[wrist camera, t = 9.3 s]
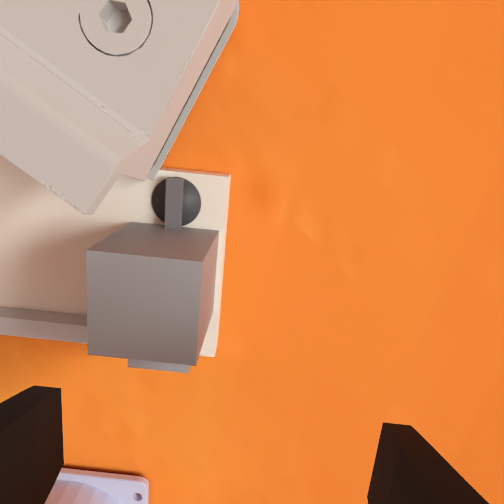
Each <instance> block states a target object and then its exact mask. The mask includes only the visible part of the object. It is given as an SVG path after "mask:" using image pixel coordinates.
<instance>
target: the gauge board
mask: <svg viewBox="0 0 504 504" xmlns="http://www.w3.org/2000/svg"><path fill="white" fill-rule="evenodd" d="M230 180H231V174H224V173H214V172H204V171H194V170H184V169H174V168H164V167H161V168H160V169H159V171H158V173H157V175H156V177H155V179H154V181H152V180H150V179H149V178H148V177H147V178H146V180H145V181H142V180H139V179H135V178H132V177H129V176H125V175H122V174H121V175H120V177H119V178H118V179H117V181H116V182H115V184H114V185H113V187H112V188H111V189H110V191H109V192H108V194H107V195H106V196H105V198H104V199H103V201H102V202H101V204H100V205H99V206H98V208H97V209H96V211H95V212H94V214H93V215H84V214H82V213H81V212H79V211H78V210H77V209H75V208H74V207H72V206H71V205H70V204H68V203H67V202H65V201H64V200H63V199H61V198H60V197H58V196H57V195H56V194H54V193H53V192H51V191H50V190H49V189H47V188H46V187H44V186H43V185H42V184H40V183H39V182H38V181H36V180H35V179H33V178H32V177H31V176H29V175H28V174H26V173H25V172H24V171H22V170H21V169H19V168H18V167H17V166H15V165H14V164H12V163H11V162H10V161H8V160H7V159H5V158H4V157H3V156H1V155H0V335H9V336H19V337H28V338H38V339H48V340H57V341H67V342H76V343H86V344H87V345H88V355H97V356H106V357H116V358H126V359H128V367H133V368H143V369H152V370H162V371H171V372H181V373H188V372H189V369H190V366H191V365H192V366H196V364H197V361H198V357H199V355H200V356H210V357H214V356H215V352H216V348H217V344H218V332H219V319H220V307H221V294H222V281H223V269H224V256H225V243H226V231H227V218H228V205H229V193H230Z"/></svg>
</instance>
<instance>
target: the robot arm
mask: <svg viewBox="0 0 504 504" xmlns="http://www.w3.org/2000/svg"><path fill="white" fill-rule="evenodd" d="M63 464H64V458H63V432H62V405H61V388H53V387H43V386H32V387H30V388H28V389H26V390H24V391H22V392H20V393H18V394H16V395H15V396H13V397H11V398H9V399H7V400H6V401H4V402H2V403H0V504H148V499H149V483H148V481H147V480H146V479H145V478H144V477H141V476H132V475H123V474H114V473H105V472H95V471H86V470H77V469H68V468H62V466H63ZM136 493H139V494H141V495H138V494H136ZM367 498H368V504H489V503H488V502H487V501H486V500H485V499H484V498H483V497H482V496H481V495H480V494H479V493H478V492H477V491H476V490H475V489H474V488H473V487H472V486H471V485H470V484H469V483H468V482H467V481H466V480H465V479H464V478H463V477H462V476H461V475H460V474H459V473H458V472H457V471H456V470H455V469H454V468H453V467H452V466H451V465H450V464H449V463H448V462H447V461H446V460H445V459H444V458H443V457H442V456H441V455H440V454H439V453H438V452H437V451H436V450H435V449H434V448H433V447H432V446H431V445H430V444H429V443H428V442H427V441H426V440H425V439H424V438H423V437H422V436H421V435H420V434H419V433H418V432H417V431H416V430H415V429H414V428H413V427H412V426H410V425H401V424H391V423H383V425H382V430H381V435H380V440H379V444H378V449H377V454H376V458H375V463H374V468H373V472H372V477H371V482H370V486H369V491H368V496H367Z"/></svg>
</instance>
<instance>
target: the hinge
mask: <svg viewBox="0 0 504 504" xmlns="http://www.w3.org/2000/svg"><path fill="white" fill-rule="evenodd" d="M238 15H239V1H238V0H0V155H1V156H3V157H4V158H5V159H7V160H8V161H10V162H11V163H12V164H14V165H15V166H17V167H18V168H19V169H21V170H22V171H24V172H25V173H26V174H28V175H29V176H31V177H32V178H33V179H35V180H36V181H38V182H39V183H40V184H42V185H43V186H44V187H46V188H47V189H49V190H50V191H51V192H53V193H54V194H56V195H57V196H58V197H60V198H61V199H63V200H64V201H65V202H67V203H68V204H70V205H71V206H72V207H74V208H75V209H77V210H78V211H79V212H81V213H82V214H84V215H93V214H94V212H95V211H96V209H97V208H98V206H99V205H100V204H101V202H102V201H103V199H104V198H105V196H106V195H107V194H108V192H109V191H110V189H111V188H112V187H113V185H114V184H115V182H116V181H117V179H118V178H119V177H120V175H121V174H122V175H125V176H129V177H132V178H135V179H139V180H142V181H145V180H146V178H147V177H148V178H149V179H150V180H152V181H154V179H155V177H156V175H157V173H158V171H159V169H160V168H161V166H162V164H163V162H164V160H165V158H166V156H167V154H168V152H169V150H170V149H171V147H172V145H173V143H174V141H175V139H176V137H177V135H178V133H179V131H180V130H181V128H182V126H183V124H184V122H185V120H186V118H187V116H188V114H189V113H190V111H191V109H192V107H193V105H194V103H195V101H196V99H197V97H198V95H199V94H200V92H201V90H202V88H203V86H204V84H205V82H206V80H207V78H208V76H209V75H210V73H211V71H212V69H213V67H214V65H215V63H216V61H217V59H218V58H219V56H220V54H221V52H222V50H223V48H224V46H225V44H226V42H227V40H228V39H229V37H230V35H231V33H232V31H233V29H234V27H235V25H236V23H237V19H238Z"/></svg>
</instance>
